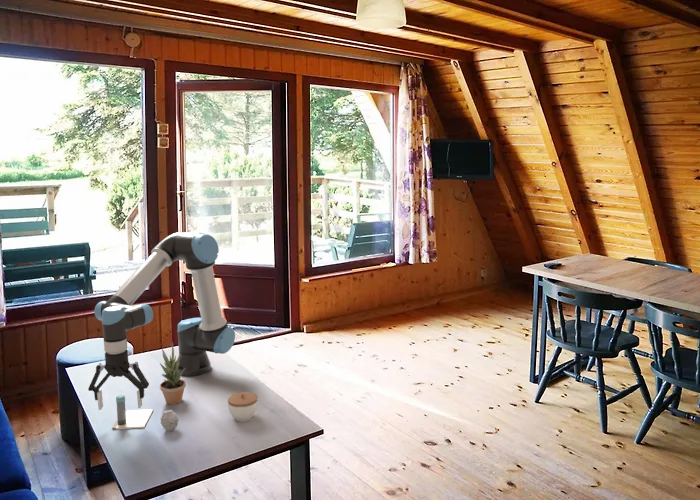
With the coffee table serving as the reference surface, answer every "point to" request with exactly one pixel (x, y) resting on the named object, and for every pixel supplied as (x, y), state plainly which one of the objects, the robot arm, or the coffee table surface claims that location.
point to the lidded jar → (242, 405)
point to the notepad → (135, 419)
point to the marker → (121, 410)
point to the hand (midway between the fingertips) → (120, 407)
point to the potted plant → (172, 380)
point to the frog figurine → (169, 420)
